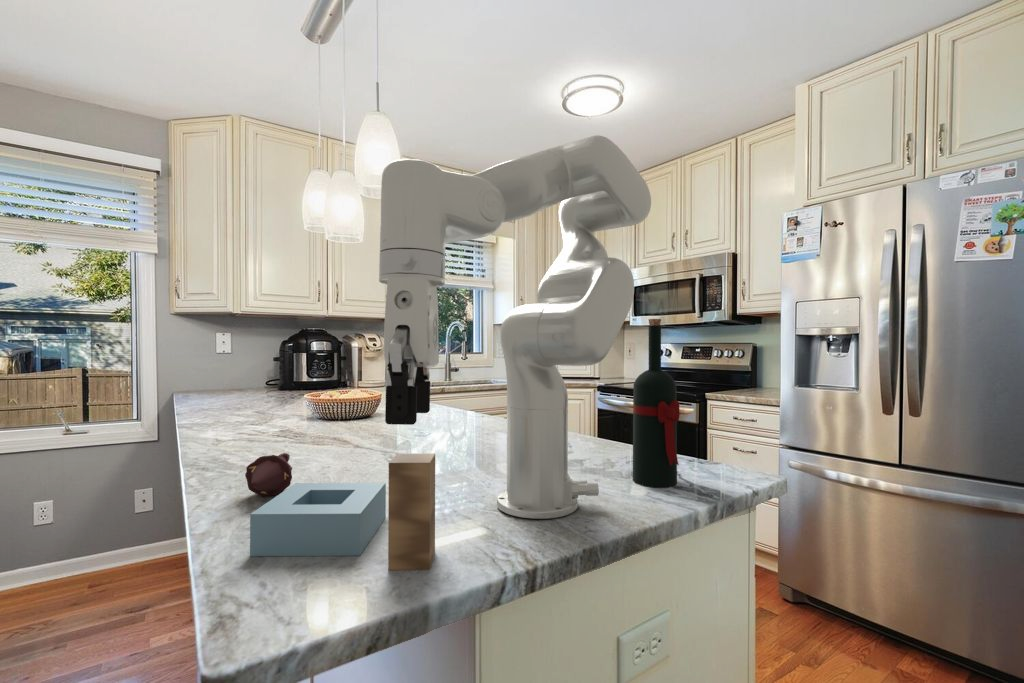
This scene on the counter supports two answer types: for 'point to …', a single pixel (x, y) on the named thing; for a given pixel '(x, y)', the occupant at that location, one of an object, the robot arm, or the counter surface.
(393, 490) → the walnut peg
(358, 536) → the socket block
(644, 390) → the wine bottle
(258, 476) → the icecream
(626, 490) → the counter surface
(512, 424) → the robot arm
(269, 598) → the counter surface
